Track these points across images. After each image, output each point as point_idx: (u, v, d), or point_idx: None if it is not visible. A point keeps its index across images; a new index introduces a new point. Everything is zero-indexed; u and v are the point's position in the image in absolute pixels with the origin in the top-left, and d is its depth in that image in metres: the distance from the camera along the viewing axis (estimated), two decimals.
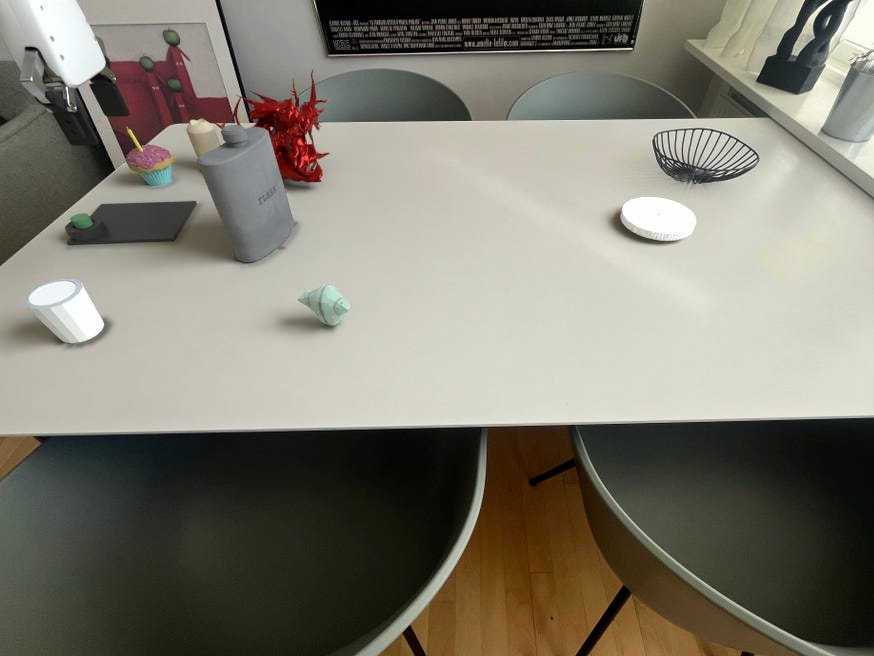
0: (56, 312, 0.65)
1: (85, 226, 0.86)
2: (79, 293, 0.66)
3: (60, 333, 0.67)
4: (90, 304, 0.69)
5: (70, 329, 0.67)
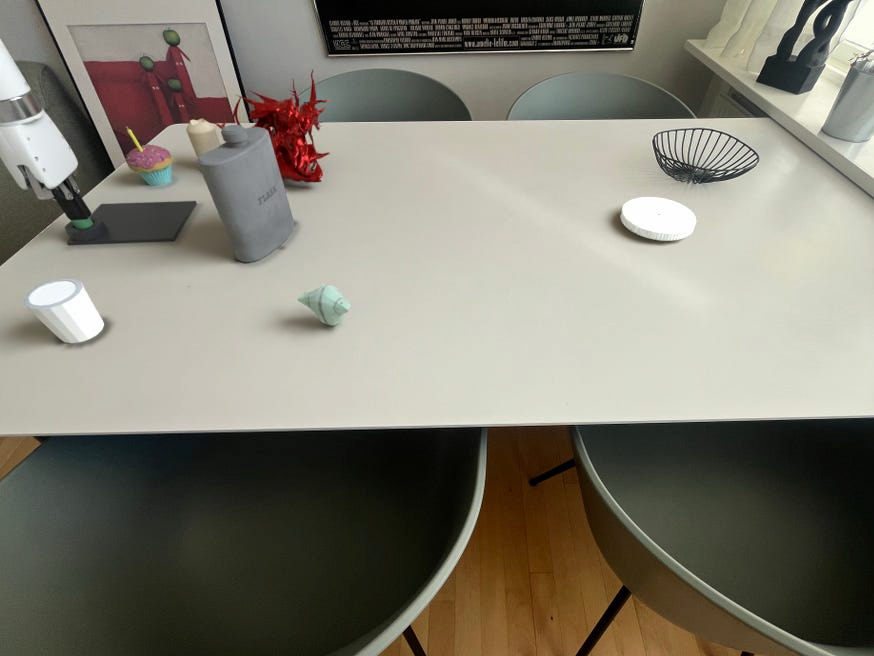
0: (56, 312, 0.65)
1: (85, 227, 0.86)
2: (79, 293, 0.66)
3: (60, 333, 0.67)
4: (90, 304, 0.69)
5: (70, 329, 0.67)
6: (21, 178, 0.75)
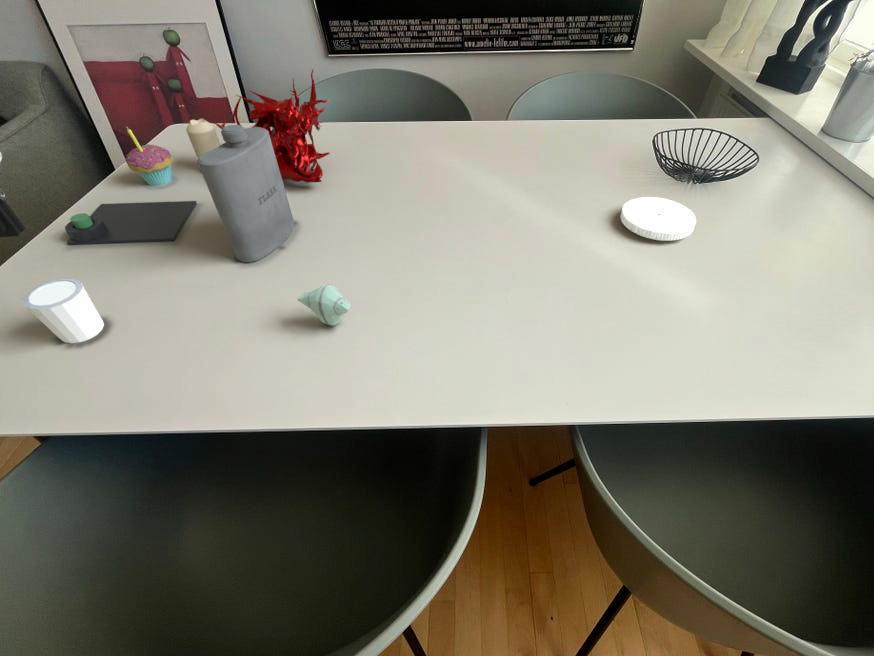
0: (56, 312, 0.65)
1: (85, 226, 0.86)
2: (79, 293, 0.66)
3: (60, 333, 0.67)
4: (90, 304, 0.69)
5: (70, 329, 0.67)
6: None
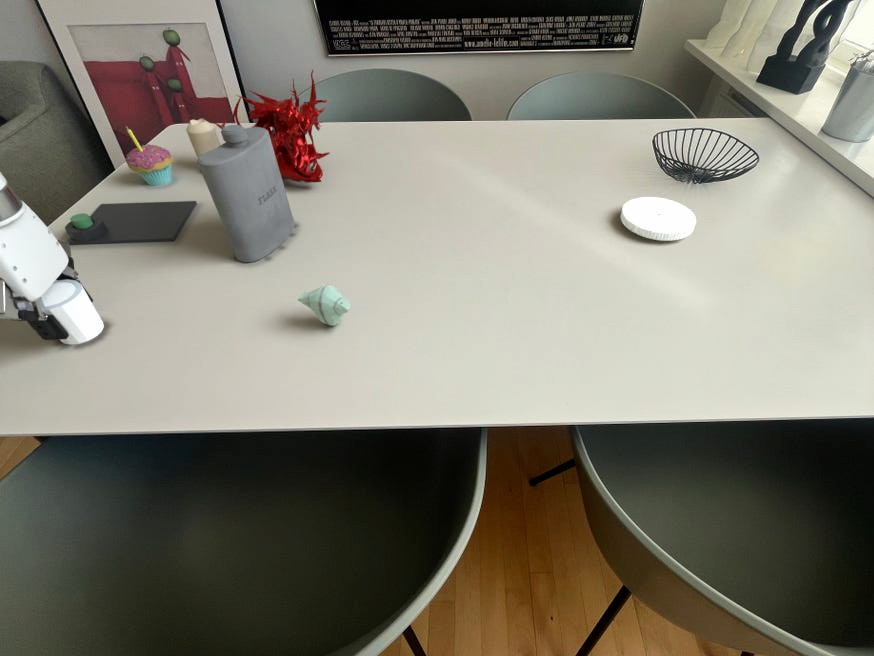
0: (55, 313, 0.64)
1: (85, 226, 0.86)
2: (79, 294, 0.66)
3: None
4: (90, 305, 0.68)
5: (70, 330, 0.67)
6: None
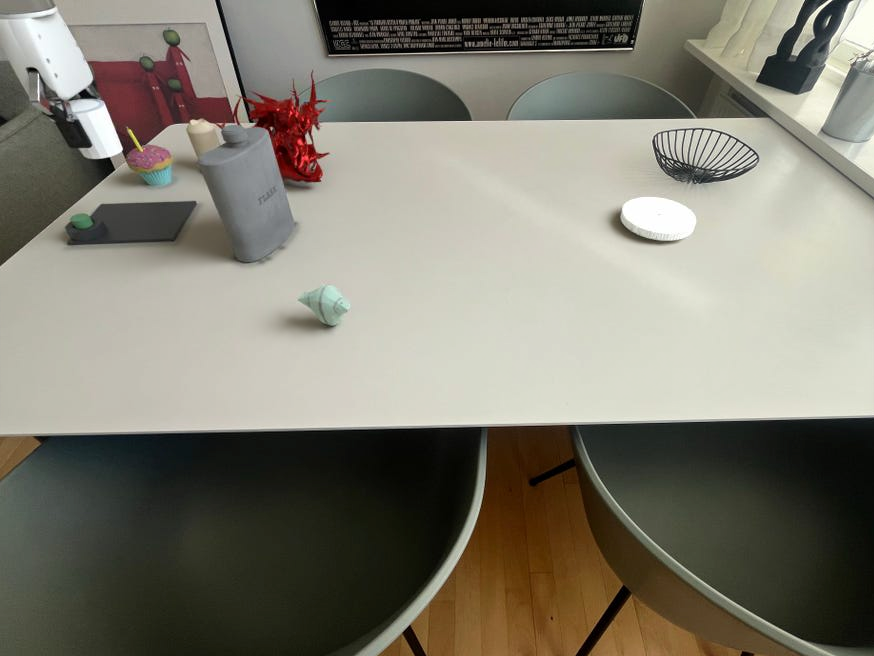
0: (81, 120, 0.72)
1: (85, 226, 0.86)
2: (102, 107, 0.74)
3: None
4: (111, 123, 0.76)
5: (93, 142, 0.75)
6: None
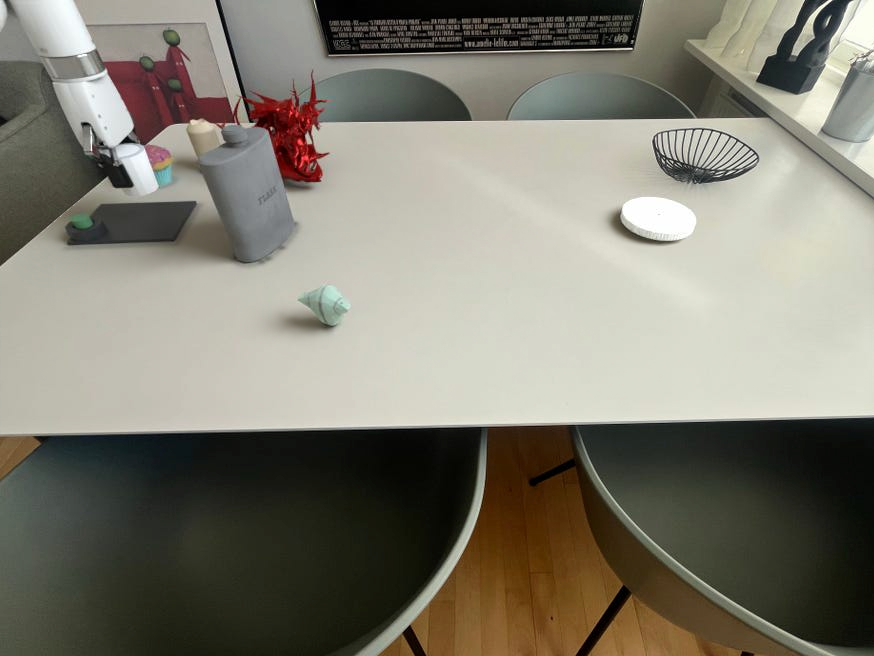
0: (125, 164, 0.82)
1: (85, 226, 0.86)
2: (142, 152, 0.83)
3: None
4: (149, 164, 0.86)
5: (134, 182, 0.84)
6: None
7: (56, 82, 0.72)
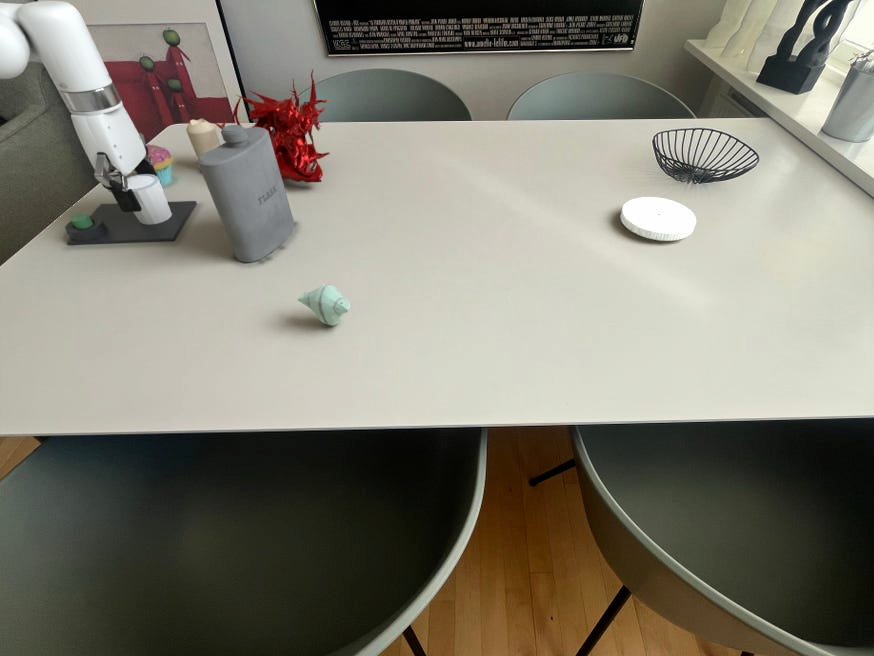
0: (141, 195, 0.86)
1: (85, 226, 0.86)
2: (157, 183, 0.87)
3: (142, 214, 0.88)
4: (163, 194, 0.90)
5: (149, 211, 0.88)
6: None
7: (74, 115, 0.75)
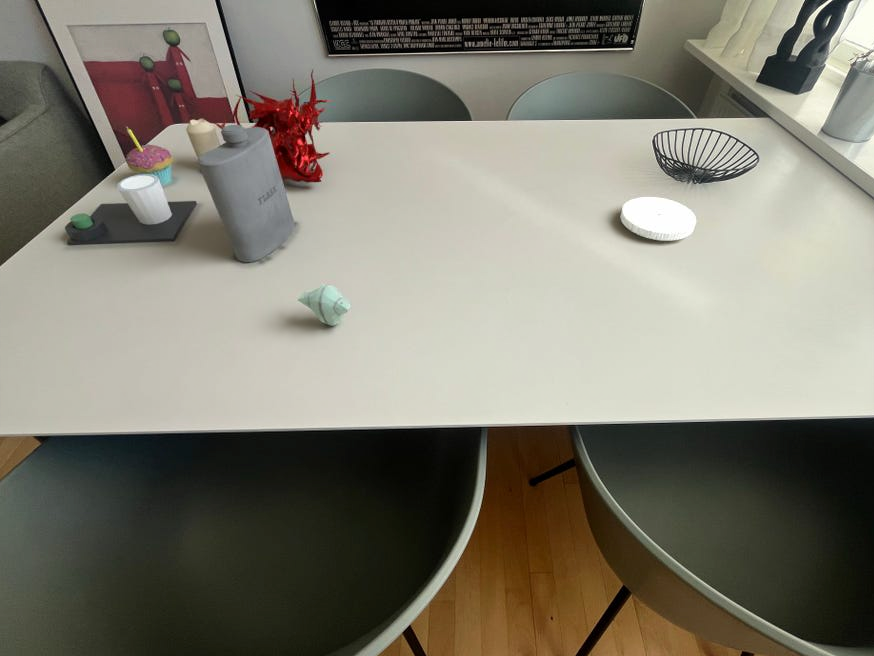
0: (141, 195, 0.86)
1: (85, 226, 0.86)
2: (157, 183, 0.87)
3: (142, 214, 0.88)
4: (163, 194, 0.90)
5: (149, 211, 0.88)
6: None
7: None
